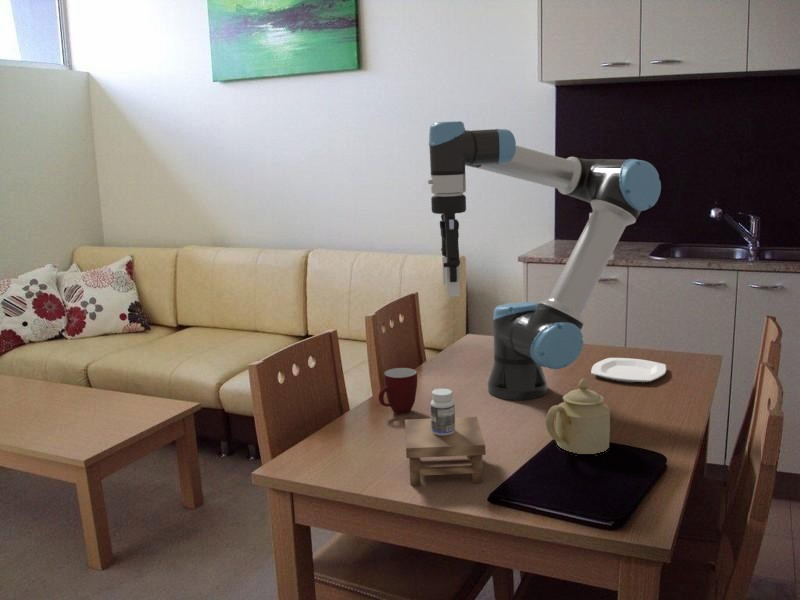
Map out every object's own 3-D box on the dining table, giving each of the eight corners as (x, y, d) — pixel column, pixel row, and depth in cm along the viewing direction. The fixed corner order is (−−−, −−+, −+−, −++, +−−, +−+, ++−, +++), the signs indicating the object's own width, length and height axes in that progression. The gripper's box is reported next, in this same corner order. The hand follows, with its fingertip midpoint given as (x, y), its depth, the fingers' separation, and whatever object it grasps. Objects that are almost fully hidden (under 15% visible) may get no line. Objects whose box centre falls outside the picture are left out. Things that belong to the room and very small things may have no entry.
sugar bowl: (598, 467, 151) (599, 395, 148) (543, 458, 156) (543, 389, 153) (614, 440, 164) (615, 373, 161) (564, 433, 169) (564, 368, 166)
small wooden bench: (477, 452, 161) (476, 416, 159) (486, 484, 146) (485, 444, 144) (406, 455, 161) (404, 419, 159) (407, 487, 146) (406, 448, 144)
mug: (394, 423, 179) (393, 382, 177) (371, 415, 185) (369, 376, 183) (425, 410, 186) (423, 371, 184) (401, 403, 192) (400, 365, 190)
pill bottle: (430, 428, 154) (428, 388, 152) (453, 426, 154) (452, 386, 152) (433, 437, 149) (431, 396, 147) (456, 435, 150) (455, 394, 148)
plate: (673, 369, 211) (673, 363, 211) (655, 390, 195) (655, 383, 195) (604, 361, 221) (604, 355, 221) (582, 380, 205) (582, 373, 205)
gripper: (428, 191, 178) (431, 280, 182) (434, 199, 154) (437, 302, 158) (460, 189, 178) (462, 279, 182) (471, 198, 154) (473, 301, 158)
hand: (451, 290), depth 170 cm, fingers open, 13 cm apart
